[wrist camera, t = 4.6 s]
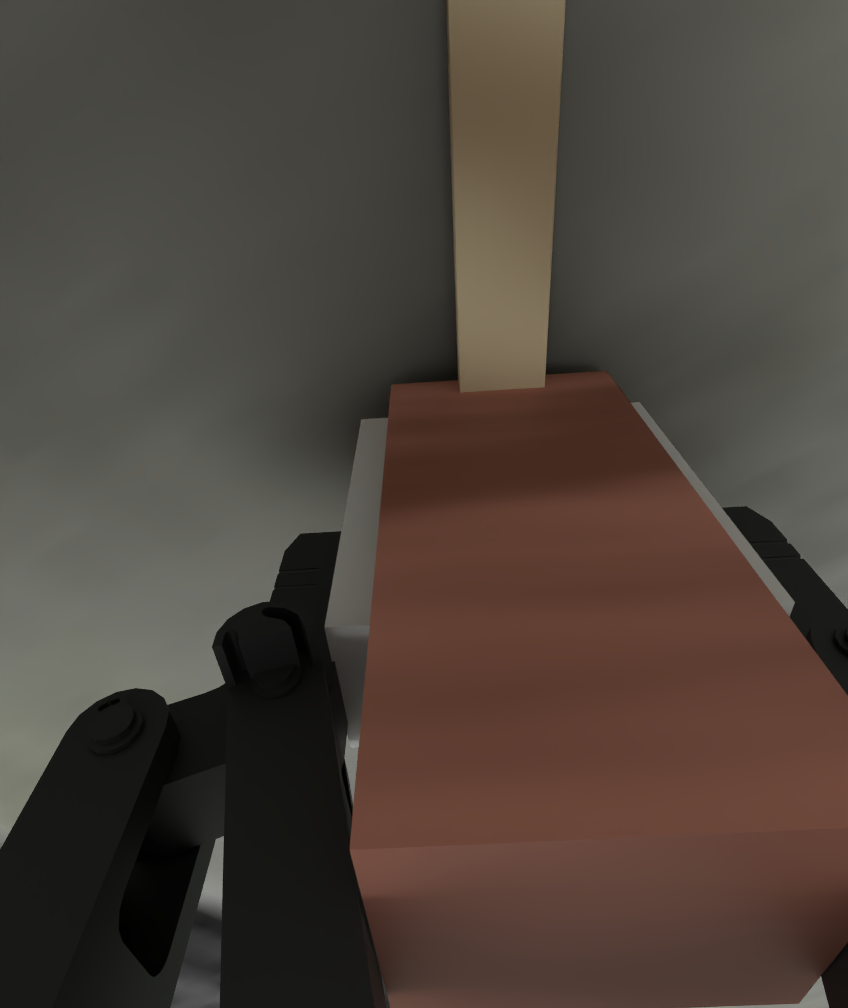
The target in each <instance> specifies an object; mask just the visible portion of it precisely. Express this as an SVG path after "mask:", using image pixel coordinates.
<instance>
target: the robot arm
mask: <svg viewBox="0 0 848 1008" xmlns="http://www.w3.org/2000/svg"><path fill="white" fill-rule="evenodd" d="M631 404H632V405H633V407H634V408H635V410H636V411H637V412H638V414H639V415H640V416H641V418H642V419H643V420H644V422H645V423H646V424H647V426H648V427H649V428H650V430H651V431H652V432H653V434H654V435H655V436H656V438H657V439H658V441H659V442H660V443H661V445H662V446H663V447H664V449H665V450H666V451H667V453H668V454H669V455H670V457H671V458H672V459H673V461H674V462H675V463H676V465H677V466H678V467H679V469H680V470H681V472H682V473H683V474H684V476H685V477H686V478H687V480H688V481H689V482H690V484H691V485H692V486H693V488H694V489H695V490H696V492H697V493H698V494H699V496H700V497H701V498H702V500H703V501H704V503H705V504H706V505H707V507H708V508H709V509H710V511H711V512H712V513H713V515H714V516H715V517H716V519H717V520H718V521H719V523H720V524H721V525H722V527H723V528H724V529H725V531H726V532H727V534H728V535H729V536H730V538H731V539H732V540H733V542H734V543H735V544H736V546H737V547H738V548H739V550H740V551H741V552H742V554H743V555H744V556H745V558H746V559H747V560H748V562H749V563H750V565H751V566H752V567H753V569H754V570H755V571H756V573H757V574H758V575H759V577H760V578H761V579H762V581H763V582H764V583H765V585H766V586H767V587H768V589H769V590H770V591H771V593H772V594H773V596H774V597H775V598H776V600H777V601H778V602H779V604H780V605H781V606H782V608H783V609H784V610H785V612H786V613H787V614H788V616H789V617H790V618H791V620H792V621H793V623H794V624H795V625H796V627H797V628H798V629H799V631H800V632H801V633H802V635H803V636H804V637H805V639H806V640H807V641H808V643H809V644H810V645H811V647H812V648H813V649H814V651H815V652H816V654H817V655H818V656H819V658H820V659H821V660H822V662H823V663H824V664H825V666H826V667H827V668H828V670H829V671H830V672H831V674H832V675H833V676H834V678H835V679H836V680H837V682H838V683H839V685H840V686H841V687H842V689H843V690H844V691H845V693H846V694H847V695H848V609H847V608H846V607H845V606H844V605H843V604H842V602H841V601H840V600H839V599H838V598H837V597H836V595H835V594H834V593H833V592H832V591H831V590H830V589H829V587H828V586H827V585H826V584H825V583H824V582H823V581H822V579H821V578H820V577H819V576H818V575H817V574H816V573H815V571H814V570H813V569H812V568H811V567H810V566H809V564H808V563H807V562H806V561H805V560H804V559H801V558H800V554H799V553H798V552H797V551H796V550H795V548H794V547H793V546H792V545H791V544H788V543H787V539H786V538H785V537H784V536H783V535H782V533H781V532H780V531H779V530H778V529H777V528H776V527H775V525H774V524H773V523H772V522H771V521H769V520H768V519H766V518H764V517H763V516H761V515H760V514H758V513H756V512H755V511H753V510H751V509H750V508H748V507H746V506H744V507H727V508H721V506H720V505H719V504H718V502H717V501H716V500H715V499H714V497H713V496H712V495H711V493H710V492H709V491H708V490H707V488H706V487H705V486H704V484H703V483H702V482H701V481H700V479H699V478H698V477H697V475H696V474H695V473H694V472H693V470H692V469H691V468H690V466H689V465H688V464H687V462H686V461H685V460H684V459H683V457H682V456H681V455H680V453H679V452H678V451H677V450H676V448H675V447H674V446H673V444H672V443H671V442H670V441H669V439H668V438H667V437H666V435H665V434H664V433H663V432H662V430H661V429H660V428H659V426H658V425H657V424H656V423H655V421H654V420H653V419H652V417H651V416H650V415H649V413H648V412H647V411H646V410H645V408H644V407H643V406H642V404H641V403H640V402H632V403H631ZM387 426H388V418H374V419H361V424H360V429H359V435H358V441H357V446H356V452H355V458H354V463H353V469H352V475H351V480H350V486H349V492H348V497H347V503H346V508H345V514H344V520H343V525H342V531H339V532H322V533H305V534H300V535H299V536H298V537H297V538H296V539H295V540H294V541H293V543H292V544H291V545H290V546H289V547H288V548H287V549H286V550H285V552H284V556H283V559H282V562H281V566H280V569H279V574H278V576H277V579H276V582H275V586H274V587H275V590H273V592H272V596H271V599H270V602H262V603H259V604H256V605H253V606H250V607H247V608H244V609H243V610H241V611H240V612H238V613H237V614H235V615H233V616H232V617H230V618H229V619H228V620H227V621H226V622H225V623H224V624H223V626H222V627H221V628H220V629H219V630H218V631H217V633H216V636H215V639H214V642H213V645H212V648H213V651H214V654H215V656H216V659H217V662H218V664H219V667H220V670H221V672H222V675H223V678H224V680H225V684H224V685H222V686H220V687H219V688H216V689H214V690H211V691H209V692H206V693H204V694H201V695H198V696H194V697H191V698H188V699H185V700H182V701H179V702H175V703H172V704H169V705H167V704H166V701H165V699H164V698H163V697H162V696H160V695H159V694H157V693H156V692H154V691H153V690H146V689H138V688H135V689H130V690H125V691H120V692H116V693H114V694H112V695H109V696H107V697H105V698H103V699H101V700H99V701H97V702H95V703H94V704H93V705H92V706H90V707H89V708H88V709H87V710H85V711H84V712H83V713H81V714H80V715H79V716H78V717H77V719H76V720H75V721H74V723H73V724H72V725H71V726H70V728H69V729H68V730H67V732H66V733H65V735H64V737H63V739H62V740H61V742H60V744H59V746H58V747H57V749H56V751H55V753H54V755H53V756H52V758H51V760H50V762H49V764H48V765H47V767H46V769H45V771H44V772H43V774H42V776H41V778H40V780H39V781H38V783H37V785H36V787H35V789H34V790H33V792H32V794H31V796H30V797H29V799H28V801H27V803H26V805H25V806H24V808H23V810H22V812H21V813H20V815H19V817H18V819H17V821H16V822H15V824H14V826H13V828H12V830H11V831H10V833H9V835H8V837H7V838H6V840H5V842H4V844H3V846H2V847H1V849H0V1008H170V1006H171V1002H172V999H173V995H174V991H175V988H176V984H177V980H178V977H179V973H180V969H181V966H182V962H183V958H184V954H185V951H186V947H187V943H188V940H189V936H190V932H191V929H192V925H193V921H194V918H195V914H196V910H197V907H198V903H199V899H200V896H201V892H202V888H203V884H204V881H205V877H206V873H207V870H208V866H209V862H210V859H211V855H212V851H213V848H214V844H215V840H216V839H217V838H220V837H222V836H224V858H223V899H222V941H221V982H220V1008H386V1002H385V996H384V990H383V984H382V978H381V972H380V966H379V961H378V957H377V953H376V949H375V946H374V942H373V938H372V934H371V930H370V926H369V923H368V919H367V915H366V911H365V907H364V903H363V900H362V896H361V892H360V888H359V884H358V880H357V877H356V873H355V869H354V865H353V861H352V858H351V854H350V839H351V828H352V817H353V802H352V796H351V790H350V784H349V778H348V772H347V768H346V764H345V759H344V755H345V746H346V737H347V734H348V738H349V743H350V748H359V739H360V727H361V716H362V705H363V694H364V683H365V672H366V660H367V649H368V638H369V627H370V616H371V605H372V594H373V582H374V571H375V560H376V549H377V538H378V527H379V516H380V504H381V493H382V482H383V471H384V460H385V449H386V437H387ZM821 977H822V981H823V985H824V989H825V993H826V996H827V1000H828V1004H829V1008H848V943H847V944H846V945H845V946H844V948H843V949H842V950H841V951H840V953H839V954H838V955H837V956H836V958H835V959H834V960H833V961H832V963H831V964H830V965H829V966H828V968H827V969H826V970H825V971H824V973H823V974H822V975H821Z"/></svg>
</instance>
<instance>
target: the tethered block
mask: <svg viewBox="0 0 848 1008" xmlns="http://www.w3.org/2000/svg"><path fill="white" fill-rule="evenodd" d="M565 5H566V0H446V14H447V45H448V77H449V108H450V139H451V171H452V202H453V234H454V265H455V296H456V328H457V359H458V380H453V381H437V382H422V383H406V384H391V393H390V404H389V415H388V426H387V437H386V449H385V460H384V471H383V482H382V493H381V504H380V516H379V527H378V538H377V549H376V560H375V571H374V582H373V594H372V605H371V616H370V627H369V638H368V649H367V660H366V672H365V683H364V694H363V705H362V716H361V727H360V739H359V750H358V761H357V772H356V783H355V794H354V805H353V817H352V828H351V839H350V854H351V858H352V861H353V865H354V869H355V873H356V877H357V880H358V884H359V888H360V892H361V896H362V900H363V903H364V907H365V911H366V915H367V919H368V923H369V926H370V930H371V934H372V938H373V942H374V946H375V949H376V953H377V957H378V961H379V965H380V969H381V972H382V976H383V980H384V984H385V988H386V991H387V995H388V999H389V1003H390V1007H391V1008H690V1007H717V1006H744V1005H771V1004H798V1003H800V1001H801V1000H802V999H803V998H804V996H805V995H806V994H807V993H808V991H809V990H810V989H811V988H812V986H813V985H814V984H815V983H816V981H817V980H818V979H819V978H820V976H821V975H822V974H823V973H824V971H825V970H826V969H827V968H828V966H829V965H830V964H831V963H832V961H833V960H834V959H835V958H836V956H837V955H838V954H839V953H840V951H841V950H842V949H843V948H844V946H845V945H846V944H847V943H848V695H847V694H846V693H845V691H844V690H843V689H842V687H841V686H840V685H839V683H838V682H837V680H836V679H835V678H834V676H833V675H832V674H831V672H830V671H829V670H828V668H827V667H826V666H825V664H824V663H823V662H822V660H821V659H820V658H819V656H818V655H817V654H816V652H815V651H814V649H813V648H812V647H811V645H810V644H809V643H808V641H807V640H806V639H805V637H804V636H803V635H802V633H801V632H800V631H799V629H798V628H797V627H796V625H795V624H794V623H793V621H792V620H791V618H790V617H789V616H788V614H787V613H786V612H785V610H784V609H783V608H782V606H781V605H780V604H779V602H778V601H777V600H776V598H775V597H774V596H773V594H772V593H771V591H770V590H769V589H768V587H767V586H766V585H765V583H764V582H763V581H762V579H761V578H760V577H759V575H758V574H757V573H756V571H755V570H754V569H753V567H752V566H751V565H750V563H749V562H748V560H747V559H746V558H745V556H744V555H743V554H742V552H741V551H740V550H739V548H738V547H737V546H736V544H735V543H734V542H733V540H732V539H731V538H730V536H729V535H728V534H727V532H726V531H725V529H724V528H723V527H722V525H721V524H720V523H719V521H718V520H717V519H716V517H715V516H714V515H713V513H712V512H711V511H710V509H709V508H708V507H707V505H706V504H705V503H704V501H703V500H702V498H701V497H700V496H699V494H698V493H697V492H696V490H695V489H694V488H693V486H692V485H691V484H690V482H689V481H688V480H687V478H686V477H685V476H684V474H683V473H682V472H681V470H680V469H679V467H678V466H677V465H676V463H675V462H674V461H673V459H672V458H671V457H670V455H669V454H668V453H667V451H666V450H665V449H664V447H663V446H662V445H661V443H660V442H659V441H658V439H657V438H656V436H655V435H654V434H653V432H652V431H651V430H650V428H649V427H648V426H647V424H646V423H645V422H644V420H643V419H642V418H641V416H640V415H639V414H638V412H637V411H636V410H635V408H634V407H633V405H632V404H631V403H630V401H629V400H628V399H627V397H626V396H625V395H624V393H623V392H622V391H621V389H620V388H619V387H618V385H617V384H616V383H615V381H614V380H613V379H612V377H611V376H610V374H609V373H608V372H607V371H594V372H579V373H563V374H547V375H545V373H546V354H547V336H548V318H549V299H550V281H551V262H552V244H553V226H554V207H555V189H556V170H557V152H558V133H559V115H560V97H561V78H562V60H563V41H564V23H565Z"/></svg>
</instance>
